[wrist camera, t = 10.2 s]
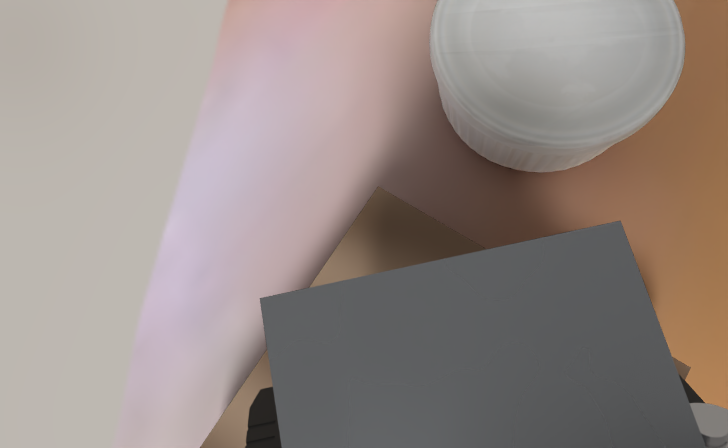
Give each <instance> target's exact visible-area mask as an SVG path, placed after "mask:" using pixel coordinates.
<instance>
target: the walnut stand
mask: <svg viewBox="0 0 728 448" xmlns="http://www.w3.org/2000/svg"><path fill="white" fill-rule="evenodd" d="M482 250H487V249H485V248H484V247H482V246H480V245H478V244H477V243H475V242H473V241H472V240H470V239H468V238H466V237H465V236H463V235H461V234H459V233H458V232H456V231H454V230H453V229H451V228H449V227H447V226H446V225H444V224H442V223H441V222H439V221H437V220H435V219H434V218H432V217H430V216H428V215H427V214H425V213H423V212H422V211H420V210H418V209H416V208H415V207H413V206H411V205H409V204H408V203H406V202H404V201H403V200H401V199H399V198H397V197H396V196H394V195H392V194H391V193H389V192H387V191H385V190H384V189H382V188H380V187H377V189H376V190H375V192H374V193H373V195H372V196H371V198H370V199H369V201H368V202H367V204H366V205H365V207H364V208H363V209H362V211H361V212H360V214H359V215H358V217H357V218H356V220H355V221H354V223H353V224H352V226H351V227H350V228H349V230H348V231H347V233H346V234H345V236H344V237H343V239H342V240H341V242H340V243H339V245H338V246H337V248H336V249H335V250H334V252H333V253H332V255H331V256H330V258H329V259H328V261H327V262H326V264H325V265H324V267H323V268H322V270H321V271H320V272H319V274H318V275H317V277H316V278H315V280H314V281H313V283H312V284H311V286H310V287H315V286H320V285H324V284H329V283H334V282H338V281H343V280H348V279H352V278H357V277H361V276H366V275H371V274H375V273H380V272H385V271H389V270H394V269H399V268H403V267H408V266H412V265H417V264H422V263H426V262H431V261H436V260H440V259H445V258H450V257H454V256H459V255H463V254H468V253H473V252H477V251H482ZM310 287H309V288H310ZM672 358H673V357H672ZM673 361H674V364H675V366H676V369H677V372H678V374H679V375H680V376H681V377H682V378H683V379H684V380H685V379H686V377H687V375H688V373H689V370H690V368H691V367H689V366H687V365H685V364H684V363H682V362H680V361H678V360H677V359H675V358H673ZM269 387H273V385H272V378H271V371H270V364H269V357H268V351H267V350H266V352H265V353H264V355H263V356H262V357H261V359H260V360H259V362H258V363H257V365H256V366H255V368H254V369H253V371H252V372H251V374H250V375H249V377H248V378H247V379H246V381H245V382H244V384H243V385H242V387H241V388H240V390H239V391H238V393H237V394H236V396H235V397H234V399H233V400H232V401H231V403H230V404H229V406H228V407H227V409H226V410H225V412H224V413H223V415H222V416H221V418H220V419H219V420H218V422H217V423H216V425H215V426H214V428H213V429H212V431H211V432H210V434H209V435H208V437H207V438H206V440H205V441H204V442H203V444H202V445H201V447H200V448H245V446H246V436H247V430H248V418H249V409H250V406H251V404H252V403H253V401H254V399H255V398H256V396H257V394H258V393H259V391H260V389H264V388H269Z"/></svg>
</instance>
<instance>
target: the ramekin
mask: <svg viewBox="0 0 728 448" xmlns="http://www.w3.org/2000/svg"><path fill="white" fill-rule="evenodd" d="M429 46H430V57H431V63H432V67H433V71H434V74H435V77H436V79H437V82H438V88H439V94H440V98H441V100H442V106H443V110H444V111H445V113H446V115H447V119H448V120H449V122H450V123H451V124H452V126H453V128H454V130H455V132H456V133H457V134H458V135H459V136H460V138H461V139H462V140H463V141H464V142H465V143H466V144H467V145H468V146H469V147H470V148H471V149H473V150H474V151H476V152H477V153H478V154H479V155H481V156H483V157H485V158H487V159H488V160H489V161H491V162H494V163H497V164H499V165H501V166H505V167H509V168H512V169H515V170H522V171H527V172H538V173H542V172H554V171H557V170H566V169H569V168H571V167H576V166H579V165H580V164H582V163H585V162H588V161H590V160H592V159H593V158H594V157H596V156H598V155H600V154H601V153H603V152H604V151H605V150H607V149H608V148H609V147H611V146H612V145H613V144H616V143H618V142H620V141H622V140H624V139H626V138H627V137H629V136H631V135H632V134H634V133H635V132H637V131H638V130H639V129H641V128H642V127H643V126H645V125H646V124H647V123H648V122H649V121H650V120H651V119H652V118H653V117H654V116H655V115H656V114H657V113H658V112H659V111H660V109H661V108H662V107H663V106H664V104H665V103H666V101H667V100H668V99H669V97H670V95H671V94H672V92H673V91H674V89H675V87H676V85H677V82H678V80H679V78H680V75H681V72H682V68H683V64H684V57H685V35H684V30H683V25H682V21H681V17H680V14H679V11H678V8H677V6H676V4H675V2H674V0H438V1H437V4H436V6H435V9H434V13H433V17H432V22H431V28H430V40H429Z"/></svg>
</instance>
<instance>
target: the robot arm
mask: <svg viewBox="0 0 728 448" xmlns="http://www.w3.org/2000/svg"><path fill="white" fill-rule="evenodd" d="M679 377H680V380H681V382H682V385H683V388H684V390H685V393H686V395H687V398H688V401H689V403H690V406H691V409H692V411H693V414H694V417H695V419H696V422H697V425H698V427H699V430H700V433H701V435H702V438H703V440H704V443H705V446H706V448H728V410H727V409H725V408H722V407H719V406H716V405H712V404H706V403H705V402H704V401H703V400H702V399H701V398H700V397H699V396H698V395H697V394H696V392H695V391H694V390H693V389H692V388H691V387H690V386H689V385H688V384H687V382H686V381H685V380H684V379H683V378H682V377H681V376H680V375H679ZM245 448H282V446H281V439H280V432H279V425H278V419H277V412H276V405H275V398H274V391H273V387H269V388H264V389H260V391H259V393H258V394H257V396H256V398H255V399H254V401H253V403H252V404H251V406H250V409H249V418H248V430H247V436H246V446H245Z"/></svg>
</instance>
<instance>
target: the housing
mask: <svg viewBox="0 0 728 448" xmlns="http://www.w3.org/2000/svg"><path fill="white" fill-rule="evenodd" d="M260 303H261V310H262V317H263V323H264V330H265V337H266V344H267V351H268V357H269V364H270V371H271V378H272V385H273V391H274V398H275V405H276V412H277V419H278V425H279V432H280V439H281V446H282V448H706V446H705V443H704V440H703V438H702V435H701V433H700V430H699V427H698V425H697V422H696V419H695V417H694V414H693V411H692V409H691V406H690V403H689V401H688V398H687V395H686V393H685V390H684V388H683V385H682V382H681V380H680V377H679V374H678V372H677V369H676V366H675V364H674V361H673V358H672V356H671V353H670V350H669V348H668V345H667V343H666V340H665V337H664V335H663V332H662V329H661V327H660V324H659V321H658V319H657V316H656V313H655V311H654V308H653V306H652V303H651V300H650V298H649V295H648V292H647V290H646V287H645V284H644V282H643V279H642V276H641V274H640V271H639V268H638V266H637V263H636V261H635V258H634V255H633V253H632V250H631V247H630V245H629V242H628V239H627V237H626V234H625V231H624V229H623V226H622V223H621V221H617V222H612V223H607V224H603V225H598V226H593V227H589V228H584V229H579V230H575V231H570V232H566V233H561V234H556V235H552V236H547V237H542V238H538V239H533V240H528V241H524V242H519V243H514V244H510V245H505V246H501V247H496V248H491V249H487V250H482V251H477V252H473V253H468V254H463V255H459V256H454V257H450V258H445V259H440V260H436V261H431V262H426V263H422V264H417V265H412V266H408V267H403V268H399V269H394V270H389V271H385V272H380V273H375V274H371V275H366V276H361V277H357V278H352V279H348V280H343V281H338V282H334V283H329V284H324V285H320V286H315V287H310V288H306V289H301V290H296V291H292V292H287V293H283V294H278V295H273V296H269V297H264V298H260Z"/></svg>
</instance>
